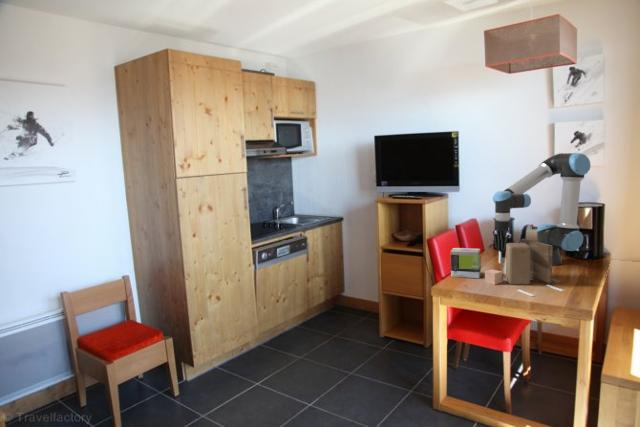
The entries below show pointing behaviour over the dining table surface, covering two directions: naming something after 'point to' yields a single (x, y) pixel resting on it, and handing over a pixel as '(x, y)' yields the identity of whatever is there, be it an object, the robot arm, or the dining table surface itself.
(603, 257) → the dining table surface
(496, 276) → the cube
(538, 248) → the brown angled piece
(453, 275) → the tea box
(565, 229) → the robot arm
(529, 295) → the strip
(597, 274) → the dining table surface
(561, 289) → the strip
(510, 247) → the wooden block
